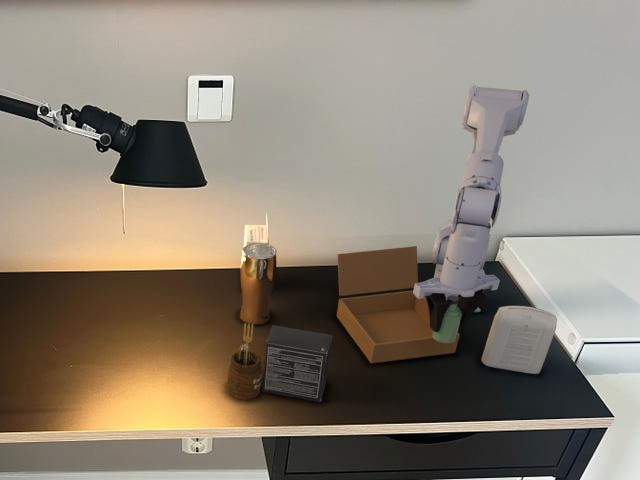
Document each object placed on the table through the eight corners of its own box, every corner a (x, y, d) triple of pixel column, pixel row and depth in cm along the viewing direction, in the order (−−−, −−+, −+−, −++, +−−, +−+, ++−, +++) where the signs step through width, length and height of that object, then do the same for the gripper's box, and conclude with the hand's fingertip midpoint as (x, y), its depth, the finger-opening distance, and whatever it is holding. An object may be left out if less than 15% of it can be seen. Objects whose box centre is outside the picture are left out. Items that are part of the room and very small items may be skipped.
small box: (327, 382, 135) (334, 333, 129) (321, 404, 130) (328, 354, 124) (268, 371, 138) (273, 322, 131) (260, 392, 133) (265, 342, 126)
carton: (336, 317, 152) (339, 298, 150) (413, 308, 155) (417, 289, 152) (370, 364, 139) (374, 345, 136) (454, 354, 141) (459, 334, 139)
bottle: (448, 329, 135) (458, 291, 130) (460, 342, 132) (470, 302, 127) (427, 332, 134) (437, 293, 130) (438, 344, 131) (448, 305, 126)
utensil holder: (225, 399, 131) (228, 342, 124) (228, 378, 136) (231, 322, 129) (259, 402, 130) (264, 345, 123) (261, 381, 135) (266, 324, 128)
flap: (339, 296, 149) (339, 295, 150) (418, 287, 152) (417, 287, 152) (338, 254, 148) (337, 254, 148) (416, 246, 150) (416, 246, 151)
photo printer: (539, 364, 139) (559, 306, 131) (542, 377, 135) (562, 319, 128) (480, 354, 141) (497, 298, 134) (481, 367, 138) (498, 310, 131)
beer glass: (271, 308, 155) (277, 243, 147) (272, 326, 150) (278, 259, 141) (237, 307, 156) (241, 241, 147) (237, 325, 150) (241, 258, 142)
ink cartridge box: (241, 272, 168) (245, 210, 160) (263, 272, 168) (268, 211, 159) (242, 291, 161) (246, 228, 153) (265, 291, 161) (271, 228, 153)
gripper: (434, 274, 120) (418, 344, 127) (517, 265, 122) (496, 335, 130) (413, 254, 125) (399, 323, 133) (493, 245, 127) (474, 314, 135)
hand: (446, 327), depth 132 cm, fingers closed on bottle, 4 cm apart
